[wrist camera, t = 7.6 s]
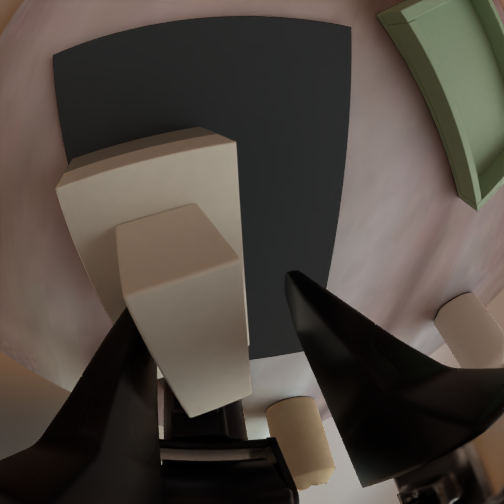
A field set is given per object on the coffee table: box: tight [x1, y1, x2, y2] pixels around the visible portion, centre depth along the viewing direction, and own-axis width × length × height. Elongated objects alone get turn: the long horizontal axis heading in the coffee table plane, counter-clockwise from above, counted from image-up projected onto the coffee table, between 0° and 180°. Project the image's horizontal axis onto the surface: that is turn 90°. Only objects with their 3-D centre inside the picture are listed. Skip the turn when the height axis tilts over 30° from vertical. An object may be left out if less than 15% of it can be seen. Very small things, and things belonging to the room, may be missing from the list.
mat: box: [53, 16, 351, 360], centre depth 13 cm, size 20×12×1 cm, turn 1°
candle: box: [266, 397, 335, 492], centre depth 23 cm, size 6×6×10 cm
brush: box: [55, 127, 252, 418], centre depth 9 cm, size 9×5×6 cm, turn 2°
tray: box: [376, 0, 504, 212], centre depth 9 cm, size 12×8×2 cm
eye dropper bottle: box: [434, 293, 504, 369], centre depth 17 cm, size 4×6×12 cm
